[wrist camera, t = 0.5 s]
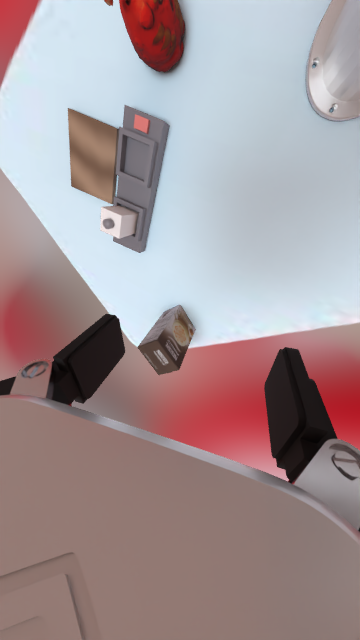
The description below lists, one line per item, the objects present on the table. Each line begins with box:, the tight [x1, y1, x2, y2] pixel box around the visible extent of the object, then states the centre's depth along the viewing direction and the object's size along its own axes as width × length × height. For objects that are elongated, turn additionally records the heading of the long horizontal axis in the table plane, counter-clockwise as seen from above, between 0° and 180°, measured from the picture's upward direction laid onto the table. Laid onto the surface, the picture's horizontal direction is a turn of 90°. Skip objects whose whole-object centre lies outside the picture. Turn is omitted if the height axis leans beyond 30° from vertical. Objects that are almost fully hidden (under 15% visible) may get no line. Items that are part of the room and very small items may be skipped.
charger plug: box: [101, 206, 139, 239], centre depth 36 cm, size 4×4×8 cm
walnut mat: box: [68, 108, 119, 204], centre depth 37 cm, size 12×10×1 cm
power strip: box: [113, 105, 169, 253], centre depth 36 cm, size 22×7×4 cm, turn 162°
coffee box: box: [138, 305, 195, 375], centre depth 46 cm, size 9×6×16 cm
